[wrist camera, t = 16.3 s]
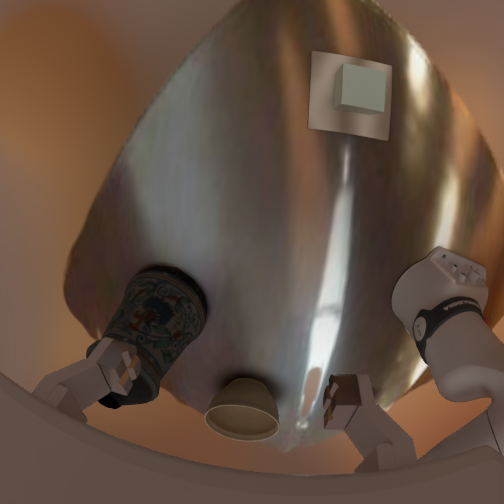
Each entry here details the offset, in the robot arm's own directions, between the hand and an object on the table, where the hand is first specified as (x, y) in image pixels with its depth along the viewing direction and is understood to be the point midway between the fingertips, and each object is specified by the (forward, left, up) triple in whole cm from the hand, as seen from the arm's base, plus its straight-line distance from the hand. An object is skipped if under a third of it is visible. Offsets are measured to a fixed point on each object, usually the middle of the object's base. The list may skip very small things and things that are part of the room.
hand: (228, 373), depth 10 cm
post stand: (-10, -16, -34) cm, 39 cm away
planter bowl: (+2, +46, -34) cm, 57 cm away
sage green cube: (-10, -16, -32) cm, 37 cm away
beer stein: (+19, +24, -34) cm, 46 cm away
